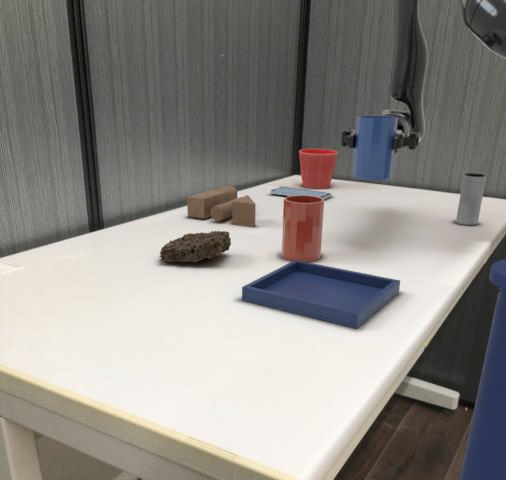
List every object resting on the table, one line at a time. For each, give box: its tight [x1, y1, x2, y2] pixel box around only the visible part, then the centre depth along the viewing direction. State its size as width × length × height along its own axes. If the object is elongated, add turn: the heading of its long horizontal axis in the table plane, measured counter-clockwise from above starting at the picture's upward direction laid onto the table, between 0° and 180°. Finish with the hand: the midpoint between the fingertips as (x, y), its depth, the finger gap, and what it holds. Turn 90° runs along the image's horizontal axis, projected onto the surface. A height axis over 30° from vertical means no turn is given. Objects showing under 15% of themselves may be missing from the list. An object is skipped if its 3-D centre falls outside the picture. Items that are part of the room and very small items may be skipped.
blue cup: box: [352, 115, 398, 181], centre depth 99 cm, size 7×7×10 cm
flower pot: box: [298, 148, 339, 190], centre depth 161 cm, size 11×11×10 cm
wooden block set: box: [186, 185, 256, 228], centre depth 128 cm, size 17×6×18 cm
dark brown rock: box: [159, 230, 232, 263], centre depth 97 cm, size 12×10×5 cm
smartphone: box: [270, 186, 332, 200], centre depth 150 cm, size 7×1×15 cm
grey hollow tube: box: [455, 172, 487, 226], centre depth 123 cm, size 4×4×10 cm
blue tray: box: [241, 260, 401, 329], centre depth 82 cm, size 18×16×2 cm
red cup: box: [281, 195, 325, 263], centre depth 99 cm, size 7×7×10 cm
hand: (373, 142), depth 97 cm, fingers closed on blue cup, 7 cm apart
